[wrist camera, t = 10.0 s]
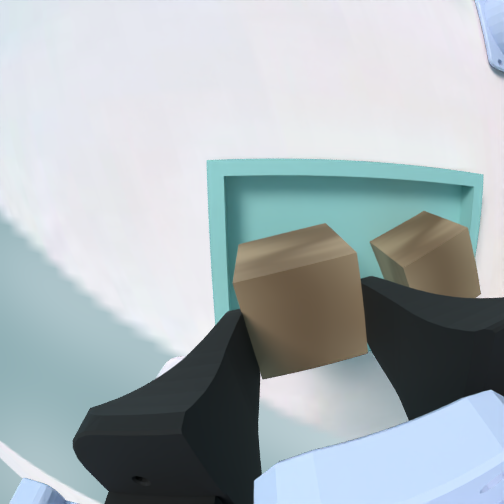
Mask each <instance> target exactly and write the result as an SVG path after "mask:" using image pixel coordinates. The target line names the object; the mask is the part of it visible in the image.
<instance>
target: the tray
mask: <svg viewBox="0 0 504 504" xmlns="http://www.w3.org/2000/svg"><path fill="white" fill-rule="evenodd" d="M207 186H208V212H209V233H210V252H211V269H212V284H213V299H214V313H215V325H216V324H217V323H218V322H219V320H220V319H221V318H222V317H223V316H224V315H225V313H226V312H228V311H232V310H236V309H240V306H239V303H238V300H237V296H236V293H235V290H234V287H233V276H234V270H235V264H236V257H237V251H238V245H239V244H242V243H246V242H250V241H254V240H258V239H262V238H266V237H270V236H274V235H278V234H282V233H286V232H290V231H295V230H299V229H303V228H307V227H311V226H315V225H319V224H323V223H326V224H327V225H328V226H329V227H330V228H332V229H333V230H334V231H335V232H336V233H337V234H338V235H339V236H340V237H341V238H342V239H343V240H344V241H345V242H346V243H347V244H348V245H350V246H351V247H352V248H353V249H354V250H355V251H356V252H357V257H358V264H359V271H360V279H361V278H365V277H368V276H374V277H378V278H382V279H384V277H383V275H382V272H381V270H380V267H379V264H378V262H377V259H376V257H375V254H374V252H373V249H372V247H371V244H370V241H371V240H373V239H375V238H377V237H379V236H380V235H382V234H384V233H386V232H388V231H389V230H391V229H393V228H395V227H396V226H398V225H400V224H402V223H404V222H405V221H407V220H409V219H411V218H412V217H414V216H416V215H417V214H419V213H421V212H423V211H426V212H429V213H431V214H434V215H437V216H439V217H442V218H445V219H447V220H450V221H453V222H455V223H458V224H460V225H463V226H465V227H468V230H469V235H470V239H471V243H472V248H473V252H474V257H475V254H476V247H477V241H478V233H479V225H480V217H481V206H482V193H483V174H476V173H470V172H463V171H456V170H449V169H441V168H432V167H424V166H414V165H404V164H393V163H380V162H366V161H348V160H325V159H227V160H207ZM367 348H368V351H371V349H370V348H369V345H368V343H367Z"/></svg>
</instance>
